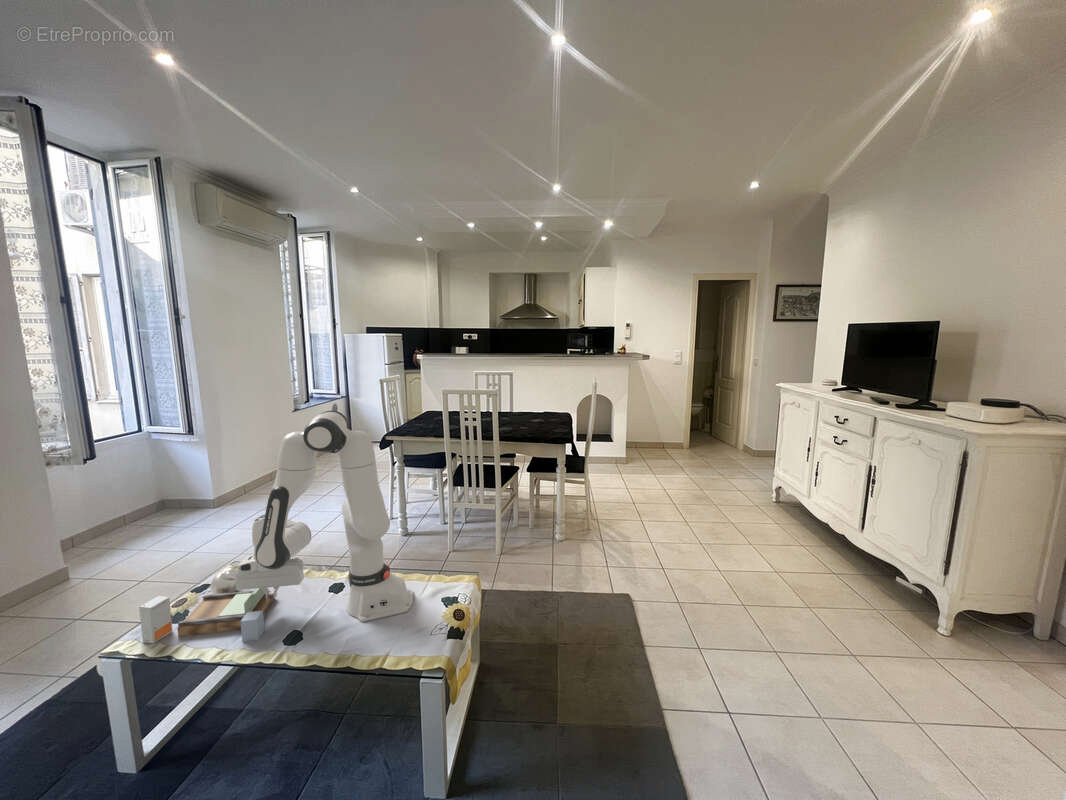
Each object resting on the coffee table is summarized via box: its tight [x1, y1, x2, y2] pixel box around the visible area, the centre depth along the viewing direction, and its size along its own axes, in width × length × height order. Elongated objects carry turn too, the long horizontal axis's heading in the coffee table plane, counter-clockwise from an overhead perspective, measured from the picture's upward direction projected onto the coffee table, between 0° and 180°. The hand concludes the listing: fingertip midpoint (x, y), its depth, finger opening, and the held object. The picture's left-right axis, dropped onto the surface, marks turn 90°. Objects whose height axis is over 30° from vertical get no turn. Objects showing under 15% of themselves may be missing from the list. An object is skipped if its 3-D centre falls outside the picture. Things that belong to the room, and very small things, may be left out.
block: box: [240, 611, 265, 643], centre depth 132 cm, size 4×4×7 cm
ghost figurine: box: [210, 567, 238, 594], centre depth 153 cm, size 9×10×10 cm
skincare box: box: [138, 595, 173, 645], centre depth 131 cm, size 6×4×12 cm
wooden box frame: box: [177, 590, 276, 637], centre depth 142 cm, size 22×16×4 cm
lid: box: [218, 588, 264, 617], centre depth 142 cm, size 9×12×4 cm
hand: (271, 597), depth 144 cm, fingers closed
